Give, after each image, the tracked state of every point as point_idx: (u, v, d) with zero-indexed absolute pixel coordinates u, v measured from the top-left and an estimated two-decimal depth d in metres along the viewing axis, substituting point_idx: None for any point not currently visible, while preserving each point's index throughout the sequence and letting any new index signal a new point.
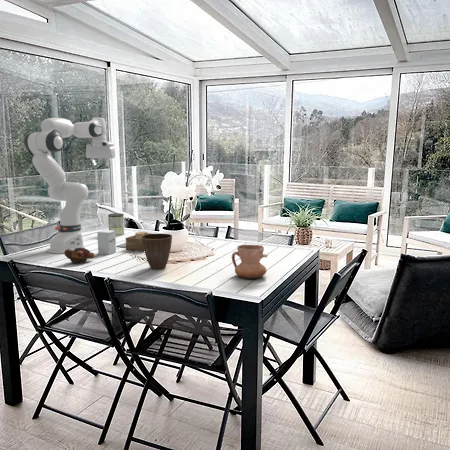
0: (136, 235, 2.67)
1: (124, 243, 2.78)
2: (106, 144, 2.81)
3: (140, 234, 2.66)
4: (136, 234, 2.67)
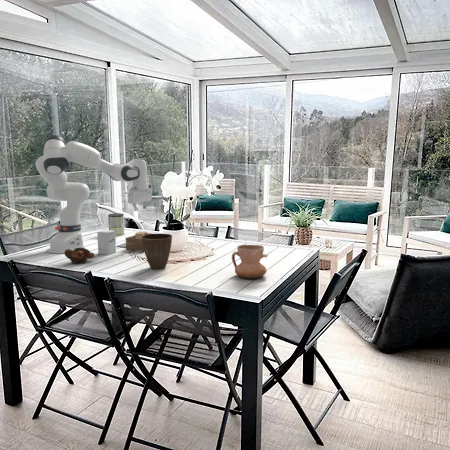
0: (136, 235, 2.67)
1: (124, 243, 2.78)
2: (151, 186, 2.70)
3: (140, 234, 2.66)
4: (136, 234, 2.67)
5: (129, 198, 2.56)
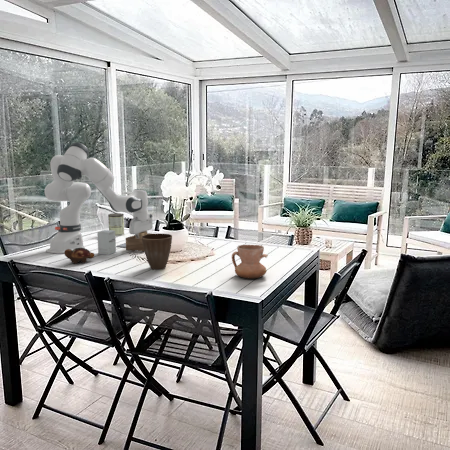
0: None
1: (124, 243, 2.78)
2: (152, 216, 2.73)
3: (140, 234, 2.66)
4: None
5: (130, 229, 2.59)
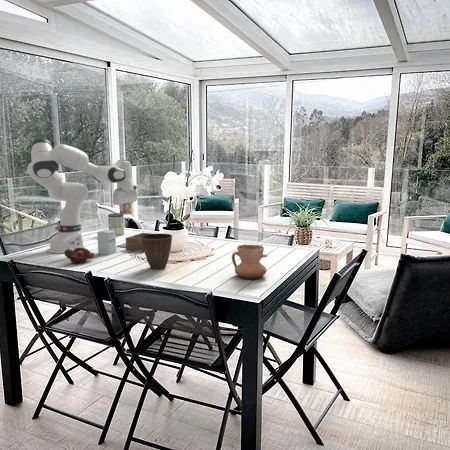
0: None
1: (124, 243, 2.78)
2: (136, 187, 2.74)
3: (124, 205, 2.67)
4: None
5: (114, 199, 2.60)
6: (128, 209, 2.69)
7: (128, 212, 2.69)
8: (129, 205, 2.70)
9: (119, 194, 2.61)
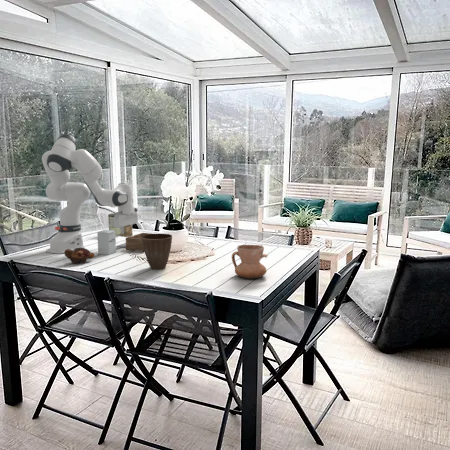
0: None
1: (124, 243, 2.78)
2: (137, 210, 2.76)
3: (125, 228, 2.69)
4: None
5: (115, 222, 2.62)
6: (129, 232, 2.71)
7: (129, 234, 2.71)
8: (130, 228, 2.71)
9: (120, 217, 2.63)
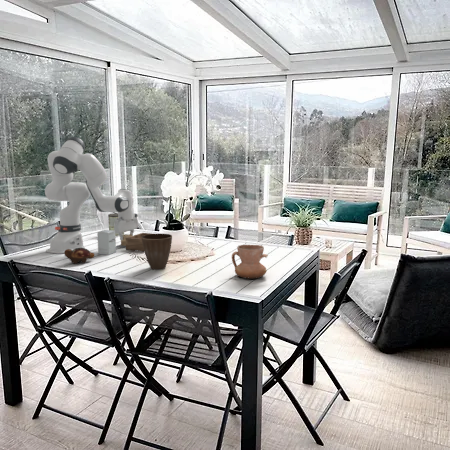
0: None
1: None
2: (137, 215, 2.77)
3: (125, 237, 2.70)
4: None
5: (115, 228, 2.63)
6: None
7: None
8: None
9: (120, 223, 2.64)
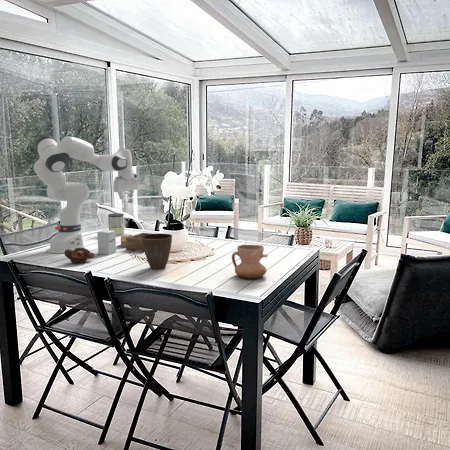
0: (121, 238, 2.72)
1: None
2: (136, 176, 2.80)
3: (125, 237, 2.70)
4: (121, 237, 2.72)
5: (114, 187, 2.67)
6: None
7: None
8: None
9: (119, 182, 2.68)
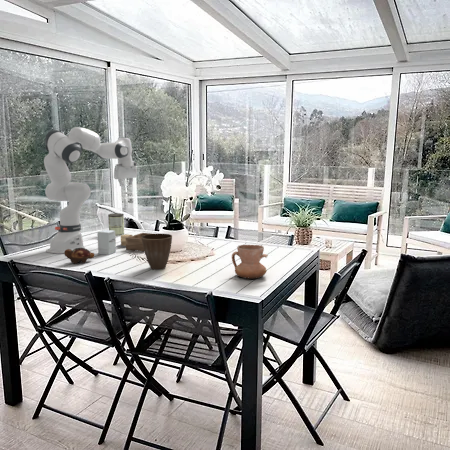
0: (121, 238, 2.72)
1: None
2: (136, 164, 2.89)
3: (125, 237, 2.70)
4: (121, 237, 2.72)
5: (115, 174, 2.75)
6: None
7: None
8: None
9: (120, 169, 2.76)
